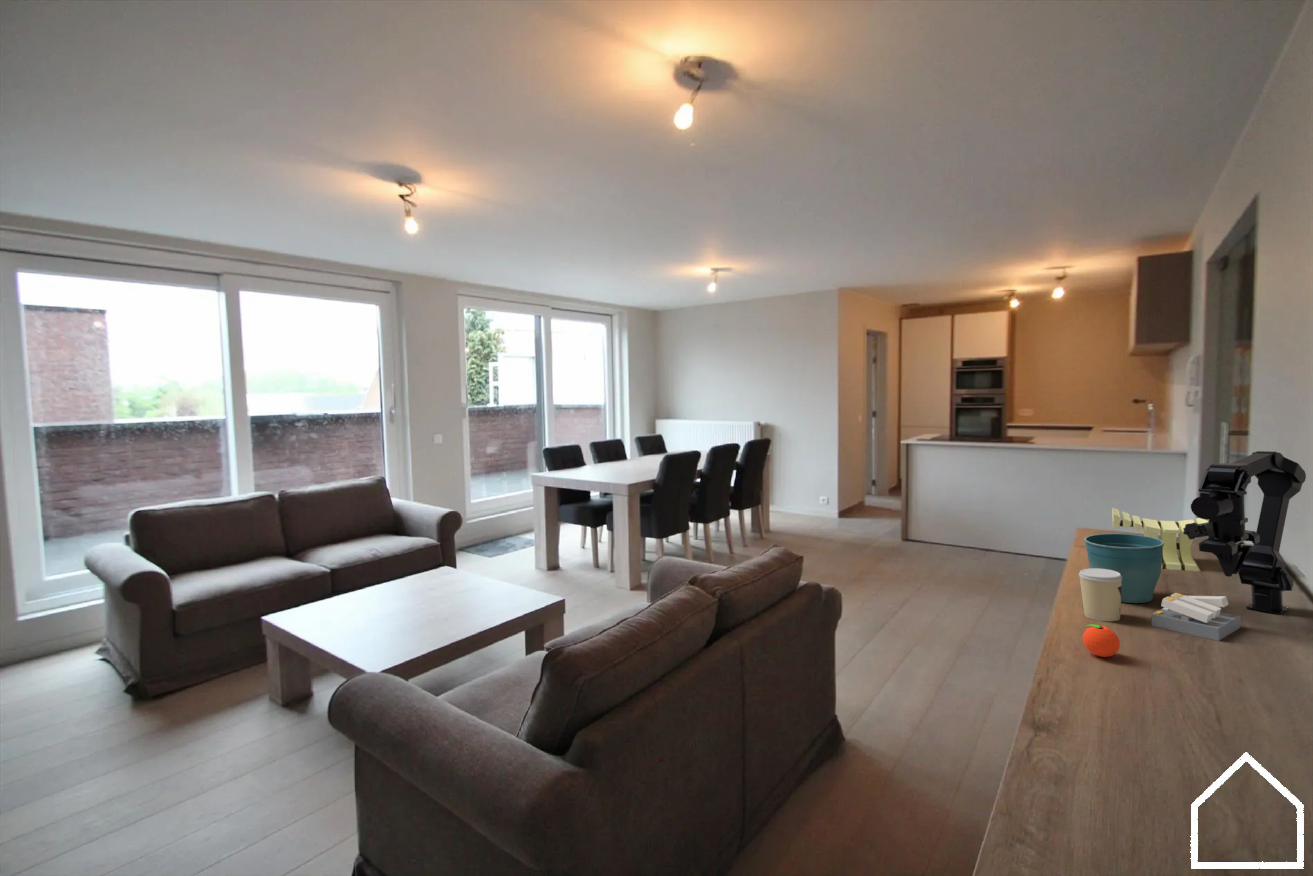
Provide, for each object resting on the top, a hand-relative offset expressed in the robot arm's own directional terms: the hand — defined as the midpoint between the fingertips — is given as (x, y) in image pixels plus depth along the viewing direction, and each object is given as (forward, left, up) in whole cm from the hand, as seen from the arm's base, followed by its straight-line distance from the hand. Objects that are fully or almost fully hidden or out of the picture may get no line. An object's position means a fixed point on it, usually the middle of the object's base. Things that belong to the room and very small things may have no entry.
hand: (1230, 575), depth 149 cm
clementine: (+44, -10, -12) cm, 47 cm away
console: (+10, -4, -12) cm, 16 cm away
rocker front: (+15, -4, -6) cm, 16 cm away
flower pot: (-2, -24, -12) cm, 27 cm away
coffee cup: (+18, -21, -12) cm, 30 cm away
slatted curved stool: (-48, -30, -12) cm, 58 cm away
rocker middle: (+10, -4, -6) cm, 13 cm away
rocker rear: (+6, -4, -6) cm, 9 cm away
